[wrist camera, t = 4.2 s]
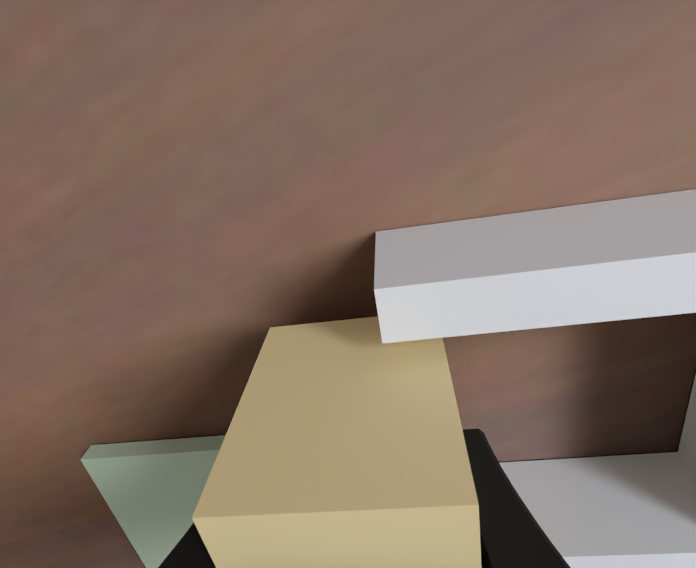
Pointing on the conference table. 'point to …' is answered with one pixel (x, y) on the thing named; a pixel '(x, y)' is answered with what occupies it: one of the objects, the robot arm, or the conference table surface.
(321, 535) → the block
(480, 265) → the frame
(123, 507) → the mat
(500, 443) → the conference table surface
